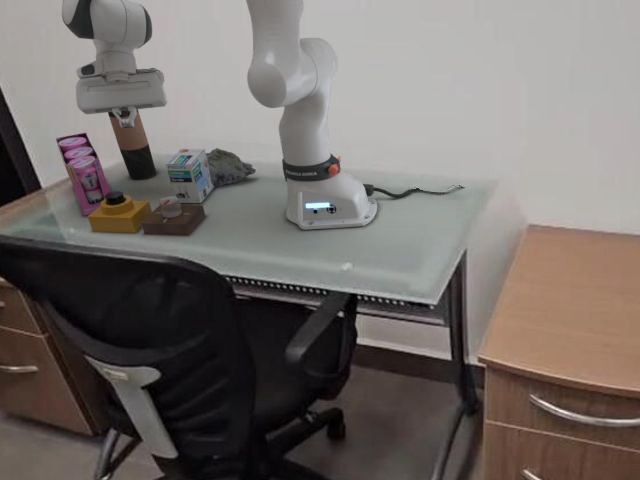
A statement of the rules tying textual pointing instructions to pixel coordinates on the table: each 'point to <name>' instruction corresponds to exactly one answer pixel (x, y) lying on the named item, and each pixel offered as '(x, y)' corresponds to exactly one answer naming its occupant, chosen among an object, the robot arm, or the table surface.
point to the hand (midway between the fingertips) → (127, 127)
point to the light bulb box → (190, 175)
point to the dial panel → (174, 221)
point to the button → (115, 198)
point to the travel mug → (134, 147)
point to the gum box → (84, 171)
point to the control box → (120, 216)
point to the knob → (170, 207)
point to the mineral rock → (227, 167)
